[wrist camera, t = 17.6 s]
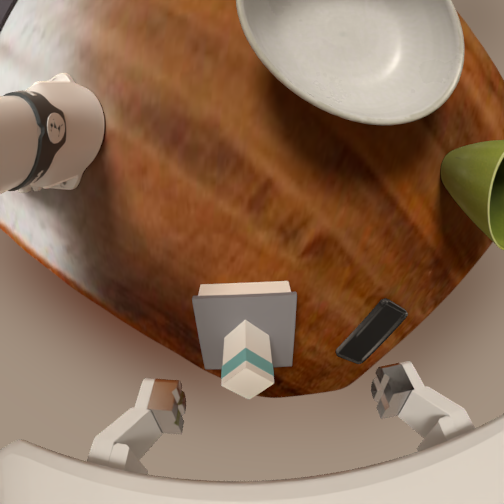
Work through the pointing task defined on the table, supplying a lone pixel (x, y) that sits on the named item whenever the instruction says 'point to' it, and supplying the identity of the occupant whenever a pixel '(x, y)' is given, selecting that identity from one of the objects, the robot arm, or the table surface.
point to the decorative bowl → (360, 54)
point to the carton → (247, 361)
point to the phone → (372, 331)
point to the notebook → (5, 10)
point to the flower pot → (478, 185)
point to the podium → (245, 317)
